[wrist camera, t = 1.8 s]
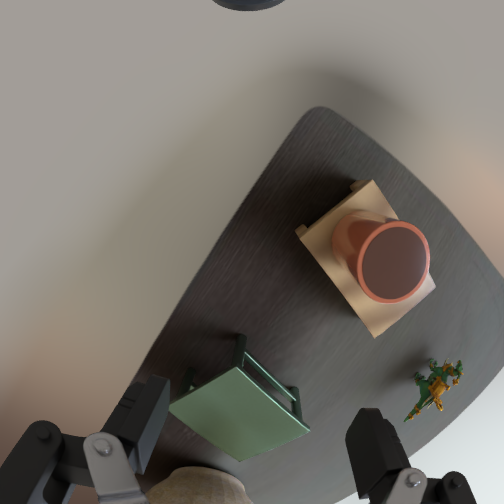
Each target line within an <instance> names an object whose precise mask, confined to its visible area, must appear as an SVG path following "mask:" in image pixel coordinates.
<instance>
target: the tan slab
mask: <svg viewBox="0 0 504 504" xmlns="http://www.w3.org/2000/svg"><path fill="white" fill-rule="evenodd" d="M349 187H350V189H351V190H352V191H353V192H352V193H351V194H349V195H348V196H347V197H346V198H345V199H343V200H342V201H341V202H340V203H338V204H337V205H336V206H335V207H333V208H332V209H331V210H330V211H328V212H327V213H326V214H325V215H323V216H322V217H321V218H320V219H318V220H317V221H316V222H315V223H313V224H312V225H311V226H310V227H308V228H307V227H306V226H305V225H304V224H302V225H301V226H299V227H298V228H297V229H296V230H295V232H296V234H297V235H298V237H299V239H300V240H301V241H302V243H303V244H304V245H305V246H306V248H307V249H308V250H309V251H310V253H311V254H312V255H313V257H314V258H315V259H316V260H317V262H318V263H319V264H320V266H321V267H322V268H323V269H324V271H325V272H326V273H327V275H328V276H329V277H330V279H331V280H332V281H333V283H334V284H335V285H336V287H337V288H338V289H339V291H340V292H341V293H342V295H343V296H344V297H345V299H346V300H347V301H348V303H349V304H350V305H351V307H352V308H353V309H354V311H355V312H356V313H357V315H358V316H359V318H360V319H361V320H362V322H363V323H364V324H365V326H366V327H367V329H368V330H369V331H370V333H371V334H372V336H373V337H374V338H376V337H377V336H378V335H380V334H381V333H382V332H383V331H385V330H386V329H387V328H389V327H390V326H391V325H392V324H394V323H395V322H396V321H397V320H399V319H400V318H401V317H402V316H403V315H405V314H406V313H407V312H408V311H409V310H411V309H412V308H413V307H414V306H415V305H416V304H418V303H419V302H420V301H421V300H422V299H423V298H424V297H425V296H427V295H428V294H429V293H430V292H431V291H432V290H433V289H434V288H435V287H436V286H435V284H434V282H433V280H432V278H431V276H430V274H429V272H428V273H427V275H426V278H425V280H424V282H423V283H422V285H421V286H420V288H419V289H418V290H417V291H416V292H415V293H414V294H413V295H412V296H410V297H409V298H407V299H405V300H403V301H401V302H398V303H393V304H383V303H379V302H376V301H374V300H372V299H371V298H369V297H368V296H367V295H366V294H365V293H364V292H363V290H362V289H361V288H360V287H359V286H358V285H357V283H356V282H355V281H354V280H353V279H352V278H351V277H350V275H349V274H348V273H347V272H346V271H345V270H344V269H343V268H342V266H341V265H340V264H339V263H338V262H337V260H336V259H335V257H334V254H333V251H332V236H333V232H334V230H335V227H336V226H337V224H338V223H339V222H340V220H341V219H342V218H343V217H345V216H346V215H348V214H349V213H352V212H354V211H360V210H364V211H370V212H374V213H377V214H381V215H384V216H388V217H391V218H395V219H398V217H397V216H396V214H395V212H394V211H393V209H392V208H391V206H390V205H389V203H388V202H387V200H386V199H385V197H384V196H383V194H382V193H381V191H380V190H379V188H378V187H377V185H376V184H375V182H374V181H373V180H357V181H355V182H354V183H353V184H352V185H350V186H349ZM398 220H399V219H398Z"/></svg>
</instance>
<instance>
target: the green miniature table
mask: <svg viewBox="0 0 504 504" xmlns="http://www.w3.org/2000/svg"><path fill="white" fill-rule="evenodd" d="M246 340H247V338H246V336H245V335H243V334H240V335H238V336H237V340H236V345H235V350H234V355H233V360H232V365H231V366H230V367H229V368H227V369H225V370H224V371H222V372H221V373H219V374H217V375H216V376H214V377H212V378H211V379H209V380H207V381H206V382H204V383H202V384H200V385H199V386H197V385H196V384H195V383H194V382H193V379H194V376H195V374H196V371H195V369H193V368H189V369H188V370H187V372H186V375H185V377H184V379H183V382H182V384H181V387H180V389H179V391H178V394H177V396H176V399H174V400H172V401H170V402H169V411H170V412H171V413H172V414H174V415H175V416H176V417H177V418H179V419H180V420H181V421H182V422H184V423H185V424H186V425H187V426H189V427H190V428H191V429H193V430H194V431H195V432H197V433H198V434H199V435H201V436H202V437H203V438H205V439H206V440H208V441H209V442H210V443H212V444H213V445H215V446H216V447H218V448H219V449H221V450H222V451H224V452H225V453H227V454H228V455H230V456H231V457H233V458H234V459H236V460H237V461H239V462H240V461H243V460H246V459H248V458H251V457H254V456H256V455H259V454H261V453H264V452H266V451H268V450H271V449H273V448H276V447H278V446H280V445H282V444H285V443H287V442H289V441H291V440H293V439H295V438H297V437H299V436H302V435H304V434H306V433H308V432H310V427H309V426H308V425H307V424H306V423H304V422H303V420H302V412H301V404H300V396H299V389H298V388H297V387H292V388H291V389H290V391H289V390H288V389H287V388H286V387H285V386H284V385H283V384H281V383H280V382H279V381H278V380H277V379H276V378H275V377H274V376H273V375H272V374H271V373H270V372H269V371H268V370H267V369H266V368H265V367H264V366H263V365H262V364H261V363H260V362H259V361H258V360H257V359H256V358H255V357H254V356H253V355H252V354H251V353H250V352H249V351H248V350H247V349H246ZM244 359H245V360H246V361H247V362H248V363H249V364H250V365H251V366H252V367H253V368H254V369H255V370H256V371H257V372H258V373H259V374H260V375H261V376H262V377H263V378H265V379H266V380H267V381H268V382H269V383H270V384H271V385H272V386H273V387H274V388H275V389H276V390H278V391H279V392H280V393H281V394H282V395H283V396H284V397H285V398H286V399H287V400H289V401H290V402H291V408H292V412H291V411H290V410H289V409H288V408H287V407H285V406H284V405H283V404H282V403H281V402H280V401H278V400H277V399H276V398H275V397H274V396H273V395H272V394H271V393H269V392H268V391H267V390H266V389H265V388H264V387H263V386H262V385H261V384H260V383H258V382H257V381H256V380H255V379H254V378H253V377H252V376H251V375H250V374H249V373H248V372H247V371H246V370H245V369H243V362H244ZM189 390H190V391H189Z"/></svg>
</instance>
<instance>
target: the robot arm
mask: <svg viewBox="0 0 504 504" xmlns="http://www.w3.org/2000/svg"><path fill="white" fill-rule="evenodd" d="M169 400H170V379H168V378H165V377H161V376H158V375H154V374H152V375H151V376H150V377H149V379H148V381H147V383H146V384H143V383H140V382H136V383H135V384H133V385H131V386H130V387H128V388H127V390H126V391H125V393H124V395H123V396H122V398H121V399H120V401H119V403H118V405H117V406H116V407H115V409H114V411H113V412H112V414H111V415H110V417H109V418H108V420H107V422H106V423H105V425H104V427H103V428H102V429H101V431H100V432H97V433H93V434H91V435H89V436H88V437H78V436H72V435H67V434H63V433H61V431H60V429H59V428H58V427H57V426H56V425H55V424H53V423H51V422H49V421H44V420H43V421H37V422H34V423H32V424H31V425H30V426H29V427H28V429H27V430H26V431H25V433H24V434H23V435H22V437H21V438H20V440H19V441H18V443H17V444H16V445H15V447H14V448H13V450H12V452H11V453H10V454H9V456H8V457H7V458H6V460H5V461H4V463H3V464H2V466H1V468H0V504H68V502H69V500H70V497H71V495H72V493H73V491H74V488H75V486H76V484H78V485H83V486H88V487H95V489H96V492H97V495H98V501H99V504H150V502H149V500H148V498H147V496H146V495H145V493H144V492H143V491H142V490H141V488H140V486H139V483H138V481H137V479H136V477H135V475H134V474H135V472H136V473H139V474H142V475H143V474H144V471H145V469H146V466H147V464H148V461H149V459H150V456H151V454H152V451H153V449H154V446H155V444H156V441H157V439H158V436H159V434H160V432H161V429H162V427H163V424H164V422H165V419H166V417H167V414H168V410H169ZM345 442H346V447H347V450H348V454H349V458H350V462H351V467H352V471H353V475H354V479H355V483H356V487H357V492H358V496H359V499H366V498H369V500H370V503H369V504H477V503H476V501H475V498H474V496H473V493H472V491H471V489H470V486H469V484H468V482H467V480H466V478H465V476H463V474H461V473H459V472H455V471H452V472H449V473H447V474H446V475H445V476H444V477H443V478H442V479H436V478H426V476H425V474H424V473H423V472H422V471H421V470H419V469H416V468H412V467H411V465H410V463H409V460H408V458H407V456H406V453H405V451H404V449H403V446H402V444H401V443H400V439H399V437H397V433H396V430H395V428H394V426H393V425H392V424H391V423H390V422H389V421H388V420H387V419H383V417H382V414H381V412H380V410H379V409H378V408H361V409H360V410H359V412H358V413H357V415H356V417H355V419H354V420H353V422H352V424H351V425H350V427H349V429H348V430H347V433H346V438H345Z"/></svg>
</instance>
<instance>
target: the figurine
mask: <svg viewBox="0 0 504 504" xmlns="http://www.w3.org/2000/svg"><path fill="white" fill-rule="evenodd" d="M448 359H449V358H448ZM448 359H447V360H448ZM431 360H432V361H433V360H434V359H430V369H431V371H434V372H433V373H432V374H430V376H429V378H428V379H427V380H424V379H426V377H424V376H423V377H422V379H421V380H420V381H419V379H418V378H419V376H420V375H421V374H420V373H417V374H416V379H415V378H414V380H416V386H418V385H419V386H420V394H421V398H420V400H419V402H418V403H417V404H416V405H415V407H414V409H413V410H412V411H411V412H410V413H409V415H408V416H407V418H406V419H405V420H404V422H405V421H407V420H408V419H410V420H411V419H413V415H414V414H415V413H416V412H417V413H416V415H418V414H420V413H421V412H420V411H421V410H420V409H422V408H423V407H424V406H425V405H427V404H428V403H430V402H431V401H432V400H433V401H432V402H431V403H430V404H429V406H430V405H431V404H433V403H434V402H435V403H436V406H437V408H438V409H439V410H443V407H442V405H441V404H442V401H441V400H440V399H439V397H440V395H441V394H442V393H443V391H444V390H445V388H446V390H447V391H448V390H449V389H450V386H448V385H447V384H446V382H447V378H448V375H451V376H453V377H455V376H457V375H458V377H457V379H456V380H455V379H453V384H454V385H455V384H458V380H459V377H460V375H461V374H462V375H463V373H462V364H461V360H459V361H458V362H457V363H458V364H457V366H456V369H454V367H452V364H453V363H451V364H447V360H446V361H445V363H444V366H442V367H436V366H437V365H438V363H437V362H436V363H435V364H434V368H433V365H432V361H431ZM454 380H455V381H454ZM454 385H453V386H454ZM429 406H428V408H429ZM428 408H427V409H428Z"/></svg>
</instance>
